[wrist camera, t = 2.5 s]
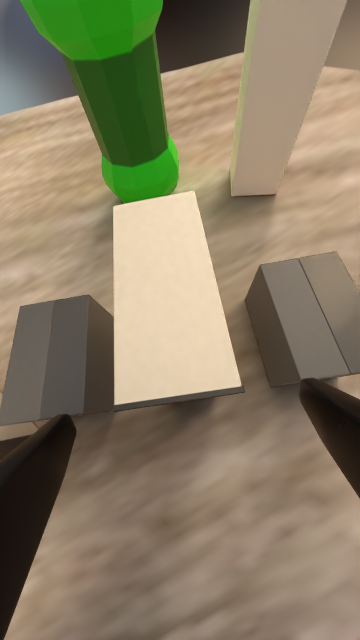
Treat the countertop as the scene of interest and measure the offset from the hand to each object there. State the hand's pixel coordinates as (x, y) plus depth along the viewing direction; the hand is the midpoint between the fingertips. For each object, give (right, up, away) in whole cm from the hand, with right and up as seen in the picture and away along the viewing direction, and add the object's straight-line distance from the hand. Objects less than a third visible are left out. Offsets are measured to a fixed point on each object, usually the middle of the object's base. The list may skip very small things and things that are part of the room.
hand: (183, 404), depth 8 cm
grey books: (0, 0, +12) cm, 12 cm away
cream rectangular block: (0, 0, +12) cm, 12 cm away
